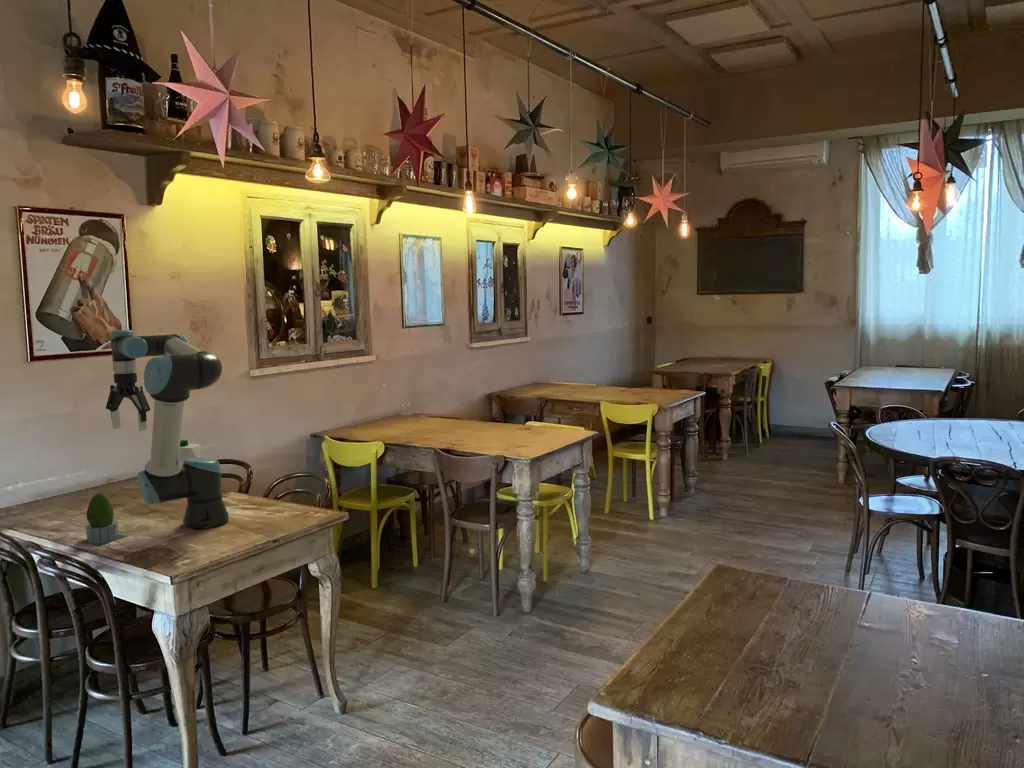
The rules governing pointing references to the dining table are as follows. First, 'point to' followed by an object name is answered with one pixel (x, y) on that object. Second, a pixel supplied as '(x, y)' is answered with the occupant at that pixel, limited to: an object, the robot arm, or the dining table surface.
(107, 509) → the avocado
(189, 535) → the dining table surface
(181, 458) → the milk carton
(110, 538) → the bowl
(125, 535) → the placemat
